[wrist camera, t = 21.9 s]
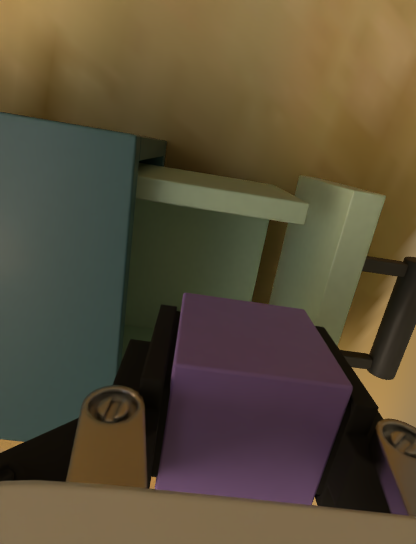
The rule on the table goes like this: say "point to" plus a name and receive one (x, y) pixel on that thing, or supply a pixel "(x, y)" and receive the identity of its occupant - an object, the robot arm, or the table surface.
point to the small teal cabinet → (63, 264)
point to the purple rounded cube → (250, 402)
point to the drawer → (248, 250)
